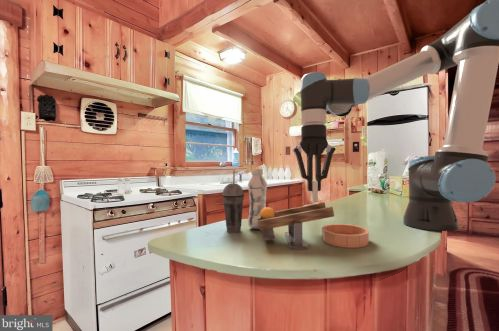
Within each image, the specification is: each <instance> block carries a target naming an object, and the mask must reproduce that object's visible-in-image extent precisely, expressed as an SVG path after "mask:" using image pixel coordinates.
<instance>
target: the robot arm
mask: <svg viewBox="0 0 499 331" xmlns="http://www.w3.org/2000/svg"><path fill="white" fill-rule="evenodd" d="M455 66H456V68H457V69H456V73H455V78H454V84H453V90H452V94H451V101H450V106H449V111H448V115H447V116H448V117H447V122H446V127H445V128H446V129H445V134H444V139H443V143H442V144H443V145H442V146H441V147H439V148H438V149H436V150H435V153H434V155H423V156H418V157H417V156H416V157H413V158H411V159H410V160H409V161H408V162H409V163H408V167H407V168H408V169H407V170H408V204H407V206H406V209H405V212H404V214H403V217H402V218H403V219H402V222H403V224H404V225H406V226H409V227H411V228H415V229H420V230H427V231H435V232H436V231H437V232H453V231H457V230H459V219H458V218H457V214H456V212H455V210H454V208H453V205H452V202H456V203H474V202H478V201H480V200H482V199H484V198H486V197H487V196H488V195H490V193H491V192H492V191H493V189H494V187H495V185H496V180H497V179H496V178H497V177H496V174H495V173H496V172H495V171H494V170H493V169H492V166H491V165H490V164H489V163H488V160H489V154H488V153H487V152H486V151H484V149H483V147H484V142H485V138H486V137H485V136H486V132H487V126H488V122H489V114H490V110H491V105H492V100H493V95H494V90H495V85H496V84H495V83H496V78H497V73H498V68H499V67H498V66H499V0H485V1H484V2H483V3H481V4H480V5H477V6H476V7H475V8H473V9H471V12H469V13H468V14H467V15H466V16H464V17H463V18H462V19H461V20H460V21H459V22H457V23H456V24H455V25H453V26H452V27H451V28H450V29H449V30H447V31H446V32H445V33H444V34H442V35H441V36H440V37H439V38H437V39H435V40H434V41H433V42H431V43H428V44H427V45H425V46H423V47H422V48H421V50H420V51H419V52H418V53H415V54H413V55H411V56H409V57H406V58H405V59H403V60H400V61H398V62H396V63H394V64H391V65H390V66H388V67H386V68H384V69H381V70H379V71H377V72H375V73H373V74H371V75H368V76H365V77H364V78H361V77H354V78H342V79H328V78H327V75H326V73H325V72H322V71H321V72H320V71H312V72H309V73H306V74H304V75H303V76H302V77H301V83H300V109H301V110H300V113H301V114H300V115H301V116H300V119H301V120H300V124H301V125H302V126H301V129H300V130H301V132H300V133H301V136H300V137H301V138H300V139H301V140H300V142H299V145H298V146H297V147H293V148H292V152H293V153H294V155H295V158H296V161H297V165H298V169H299V172H300V176H301V178H302V179H304V180H306V181H307V190H308V192H310V202H311V203H319V201H318V199H319V197H318V196H319V195H318V194H319V193H318V192H320V191H321V190H322V181H323V180H324V179H327V178H328V176H329V170H330V167H331V162H332V157H333V154H334V153H335V151H336V147H333V146H331V145H329V141H328V139H327V125H325V124H327V110H328V112H329V113H331V115H332V114H333V115H341V114H343V113H345V112H347V111H348V110H350V109H352V108H354V107H356V106H359V105H363V104H367V102H368V101H369V100H372V99H374V98H376V97H380V96H381V95H384V94H386V93H387V92H389V91H392V90H395V89H396V88H399V87H400V86H403V85H405V84H407V83H409V82H410V83H411V82H412V81H414V80H417V79H418V78H421V77H424V76H426V75H427V74H429V75H435V74H437V73H440V72H442V71H444V70H447V69H450V68H453V67H455ZM302 152H304V153H305V155H306V168H305V164H304V158H303V156H302ZM324 152H326V154H325V157H324V161H323V162H324V163H323V166H322V154H323V153H324ZM313 162H314V163H313ZM313 164H314V165H313ZM314 167H315V169H314V170H315V172H314V170H313V168H314ZM313 173H314V174H315V180H314V179H313V178H314V177H313V176H314V174H313Z"/></svg>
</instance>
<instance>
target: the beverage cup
mask: <svg viewBox="0 0 499 331" xmlns="http://www.w3.org/2000/svg"><path fill="white" fill-rule="evenodd" d="M235 174H236V170H235V169H233V170H232V175H233V176H232V182H231V183H228V184H226V186H225V187H224V188H223V190H222V195H221V196H222V201H223V204H224V206H223V207H224V216H225V226H226V231H227V232H228V233H238V232H241V230H242V229H241V228H242V220H243V208H244V206H243V204H244V200H245V199H244V198H245V193H244V189H243V187H242V186H241V185H240V184H238V183H236V182H235V180H236V179H235V178H236V177H235V176H236V175H235Z"/></svg>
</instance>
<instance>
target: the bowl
mask: <svg viewBox="0 0 499 331" xmlns="http://www.w3.org/2000/svg"><path fill="white" fill-rule="evenodd" d="M321 238H322V241H323V243H326V244H327V245H331V246H333V247H339V248H343V249H344V248H345V249H357V248H364V247H367V246H368V245H369V241H370V230H369V229H367V228H365V227H362V226H360V225H355V224H346V223H331V224H325V225H323V226H322V227H321Z"/></svg>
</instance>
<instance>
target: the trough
mask: <svg viewBox="0 0 499 331" xmlns="http://www.w3.org/2000/svg"><path fill="white" fill-rule="evenodd" d="M334 212H335V211H334V208H333V206H328V207H326V203H325V201H323V202H314V203H310V204H304V205H303V206H299V207H298V206H297V207H292V208H288V209H281V210H276V211H274V218H269V219H264V220H262V218H261V216H260V213H259V214H257V216H258V223H259V228H260V229H259V231H261V232H262V237H263V238H262V239H263V241H264V242H265V241H269V240H274V239H276V237H275V231H274V229H275V228H281V227H286V226H288V225H292V224H294V222H302V223H307V222H311V221H316V220H317V221H318V220H324V219H327V218H332V217H335V213H334Z"/></svg>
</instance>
